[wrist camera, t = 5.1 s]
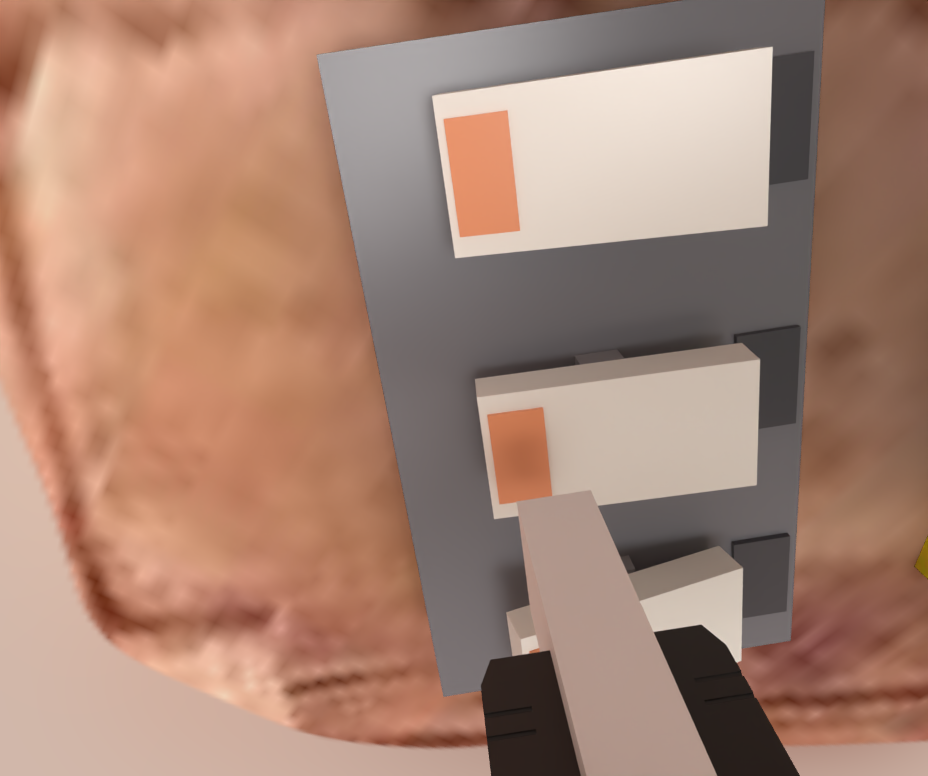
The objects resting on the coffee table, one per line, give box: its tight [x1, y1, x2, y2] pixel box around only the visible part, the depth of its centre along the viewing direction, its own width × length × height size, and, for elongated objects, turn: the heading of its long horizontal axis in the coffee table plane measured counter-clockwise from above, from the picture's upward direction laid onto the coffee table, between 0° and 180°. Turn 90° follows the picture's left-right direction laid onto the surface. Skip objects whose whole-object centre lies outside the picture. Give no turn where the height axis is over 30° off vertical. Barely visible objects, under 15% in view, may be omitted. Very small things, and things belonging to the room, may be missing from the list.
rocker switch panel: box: [317, 0, 825, 697], centre depth 22 cm, size 12×20×5 cm, turn 8°
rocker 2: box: [475, 343, 760, 519], centre depth 19 cm, size 7×4×2 cm, turn 98°
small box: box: [506, 546, 743, 663], centre depth 22 cm, size 7×4×2 cm, turn 98°
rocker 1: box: [432, 47, 773, 258], centre depth 16 cm, size 7×4×2 cm, turn 98°
